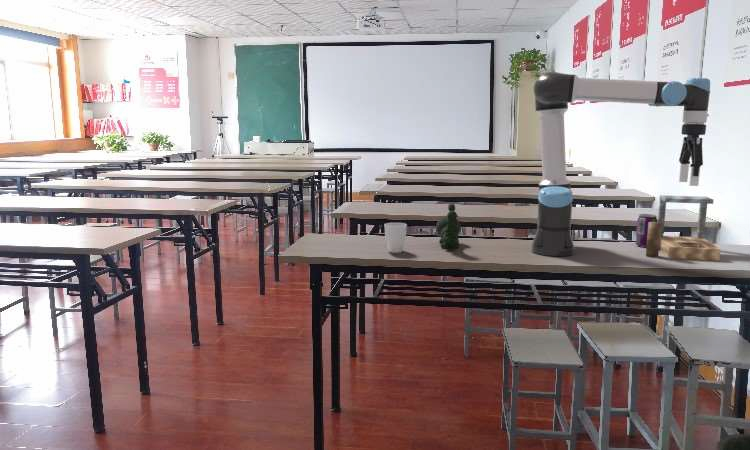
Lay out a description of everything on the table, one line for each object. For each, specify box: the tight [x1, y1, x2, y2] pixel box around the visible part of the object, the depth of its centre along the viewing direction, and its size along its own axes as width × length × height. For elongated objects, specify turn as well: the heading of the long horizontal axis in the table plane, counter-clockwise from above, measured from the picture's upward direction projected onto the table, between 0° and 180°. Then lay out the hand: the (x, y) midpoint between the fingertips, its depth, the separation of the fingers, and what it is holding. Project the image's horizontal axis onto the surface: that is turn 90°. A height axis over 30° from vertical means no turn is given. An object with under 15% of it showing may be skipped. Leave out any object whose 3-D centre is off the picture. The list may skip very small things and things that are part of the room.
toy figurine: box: [435, 202, 462, 249], centre depth 225 cm, size 9×19×25 cm
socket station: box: [657, 194, 722, 261], centre depth 214 cm, size 16×22×20 cm
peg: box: [645, 222, 661, 258], centre depth 209 cm, size 4×4×12 cm
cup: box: [384, 222, 408, 254], centre depth 217 cm, size 8×8×10 cm
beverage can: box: [635, 213, 658, 248], centre depth 226 cm, size 7×7×12 cm
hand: (688, 183), depth 212 cm, fingers open, 13 cm apart
